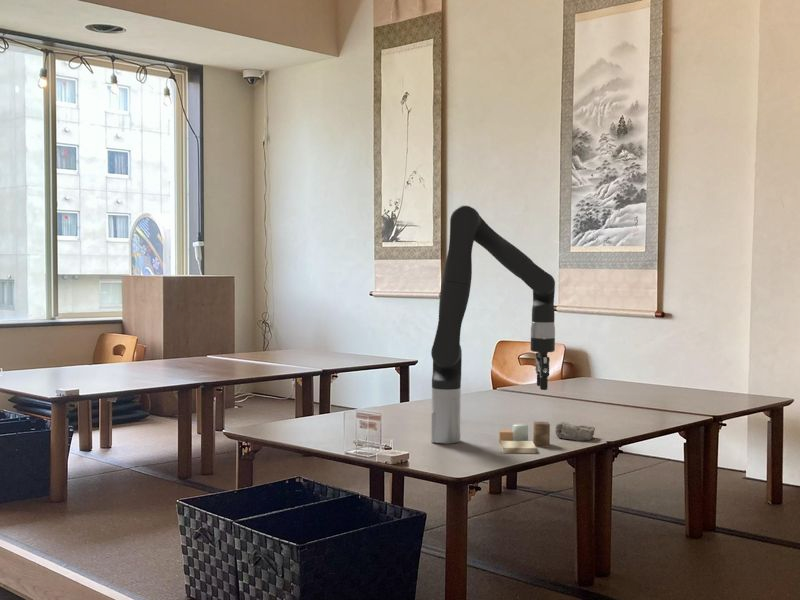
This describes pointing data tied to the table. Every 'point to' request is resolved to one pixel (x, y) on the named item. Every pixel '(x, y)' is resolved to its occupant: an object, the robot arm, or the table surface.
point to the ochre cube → (505, 435)
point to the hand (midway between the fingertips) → (542, 387)
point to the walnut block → (541, 434)
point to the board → (518, 447)
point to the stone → (574, 431)
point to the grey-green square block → (520, 432)
